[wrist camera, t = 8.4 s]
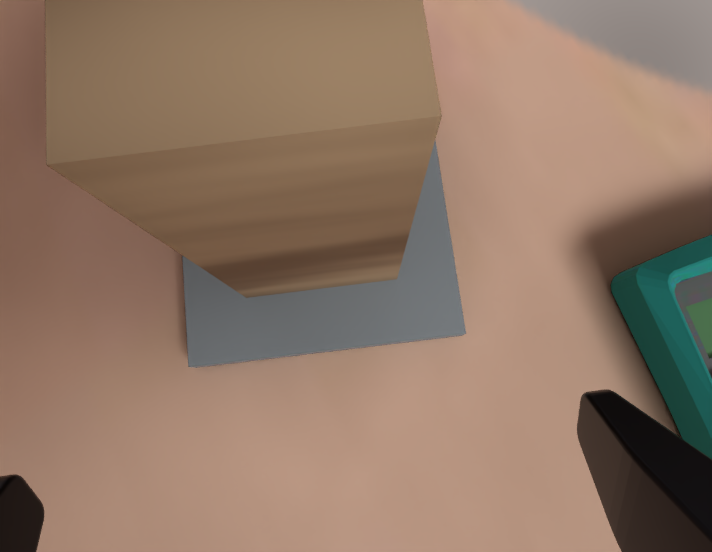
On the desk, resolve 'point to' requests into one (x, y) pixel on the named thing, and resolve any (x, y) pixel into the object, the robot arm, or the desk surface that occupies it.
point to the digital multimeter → (675, 331)
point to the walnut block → (249, 129)
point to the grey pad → (334, 302)
